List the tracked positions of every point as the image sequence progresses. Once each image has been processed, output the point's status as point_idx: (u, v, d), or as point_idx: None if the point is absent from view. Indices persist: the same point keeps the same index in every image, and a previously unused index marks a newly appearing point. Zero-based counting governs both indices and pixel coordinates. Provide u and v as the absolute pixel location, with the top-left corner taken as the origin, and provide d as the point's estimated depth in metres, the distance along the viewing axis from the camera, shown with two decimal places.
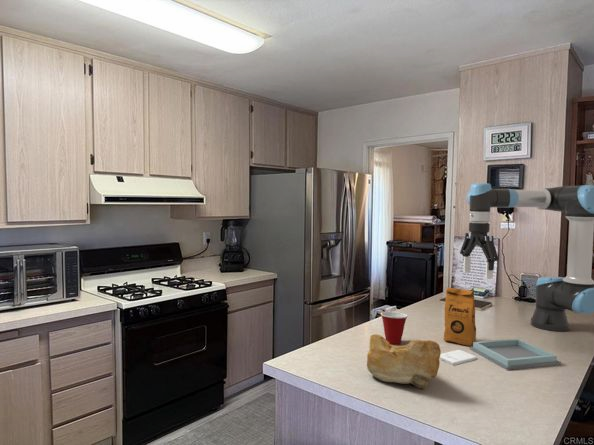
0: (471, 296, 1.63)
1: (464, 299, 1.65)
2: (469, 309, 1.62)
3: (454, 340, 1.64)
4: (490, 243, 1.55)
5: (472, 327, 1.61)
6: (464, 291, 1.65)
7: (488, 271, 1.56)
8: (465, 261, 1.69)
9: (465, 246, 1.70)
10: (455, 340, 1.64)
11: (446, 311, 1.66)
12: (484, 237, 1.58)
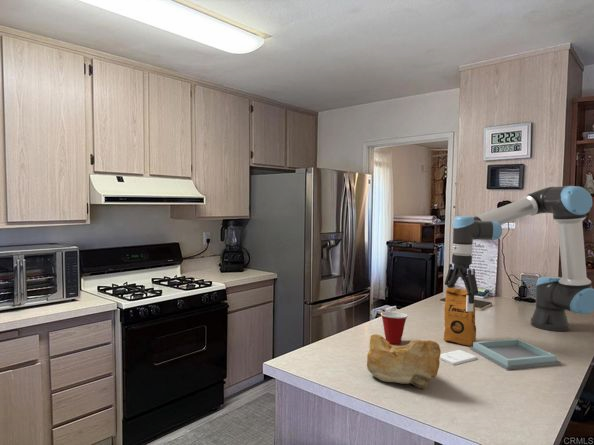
0: None
1: (464, 299, 1.65)
2: None
3: (454, 340, 1.64)
4: (471, 277, 1.59)
5: (472, 327, 1.60)
6: (464, 291, 1.65)
7: (468, 304, 1.60)
8: None
9: (449, 277, 1.73)
10: (455, 340, 1.64)
11: (446, 311, 1.65)
12: (466, 270, 1.61)
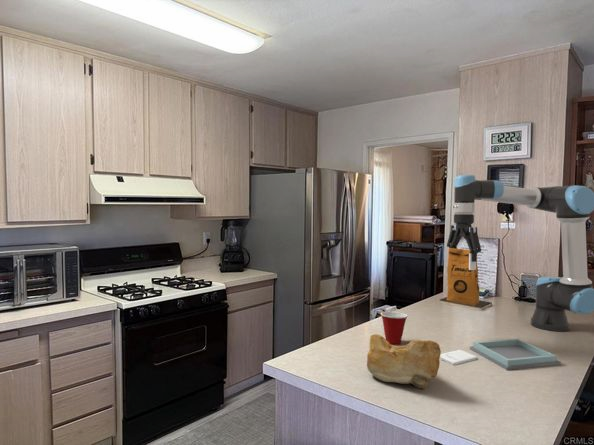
0: None
1: (466, 258, 1.63)
2: None
3: (457, 300, 1.63)
4: (474, 234, 1.57)
5: (475, 285, 1.59)
6: (466, 251, 1.64)
7: (471, 262, 1.59)
8: None
9: (451, 238, 1.71)
10: (458, 300, 1.63)
11: (449, 271, 1.64)
12: (468, 228, 1.60)
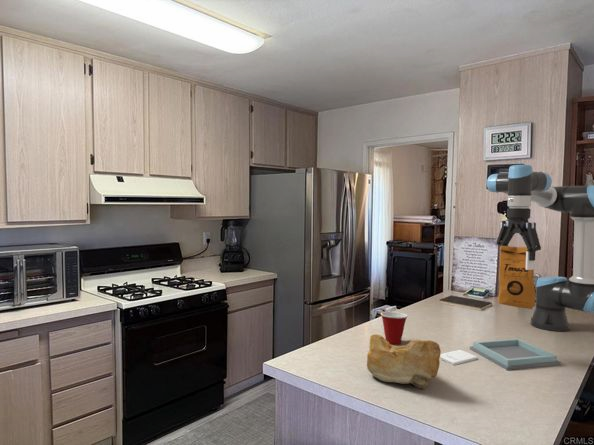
0: None
1: (521, 257, 1.48)
2: None
3: (511, 303, 1.47)
4: (532, 231, 1.42)
5: (532, 287, 1.44)
6: (521, 248, 1.48)
7: (529, 262, 1.43)
8: None
9: (502, 235, 1.56)
10: (512, 303, 1.47)
11: (501, 271, 1.49)
12: (525, 224, 1.45)
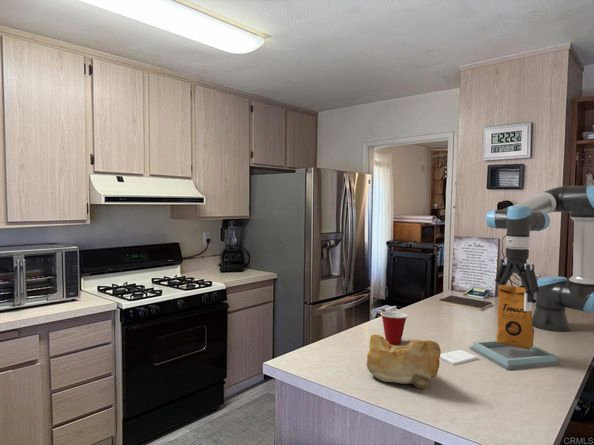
0: None
1: (519, 297, 1.49)
2: None
3: (510, 343, 1.48)
4: (530, 273, 1.43)
5: (530, 328, 1.45)
6: (520, 289, 1.49)
7: (527, 303, 1.44)
8: None
9: (501, 273, 1.57)
10: (511, 343, 1.48)
11: (500, 311, 1.50)
12: (523, 265, 1.46)
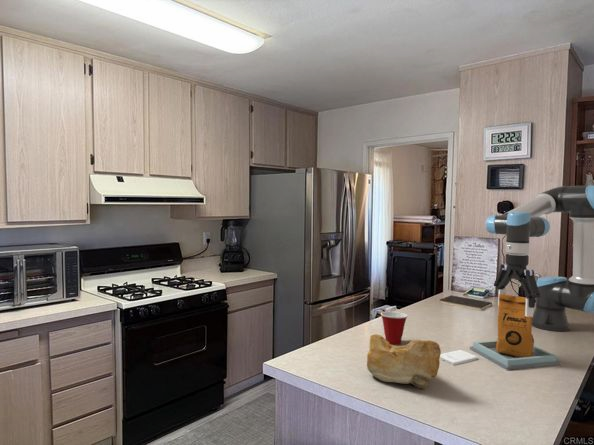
0: None
1: (519, 307, 1.49)
2: (527, 318, 1.46)
3: (509, 352, 1.48)
4: (531, 278, 1.43)
5: (530, 338, 1.45)
6: (520, 298, 1.49)
7: (528, 308, 1.44)
8: None
9: (500, 278, 1.57)
10: (511, 352, 1.48)
11: (500, 320, 1.50)
12: (523, 271, 1.46)
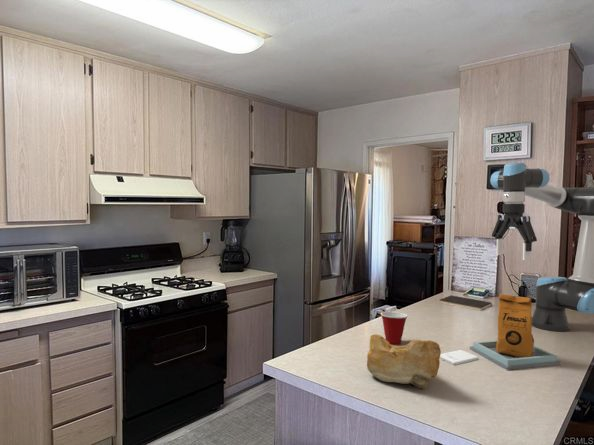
0: (528, 304, 1.48)
1: (520, 307, 1.49)
2: (527, 318, 1.46)
3: (509, 352, 1.48)
4: (527, 223, 1.52)
5: (530, 338, 1.45)
6: (520, 298, 1.50)
7: (525, 252, 1.52)
8: (498, 243, 1.65)
9: (497, 228, 1.66)
10: (511, 352, 1.48)
11: (500, 320, 1.50)
12: (520, 218, 1.54)
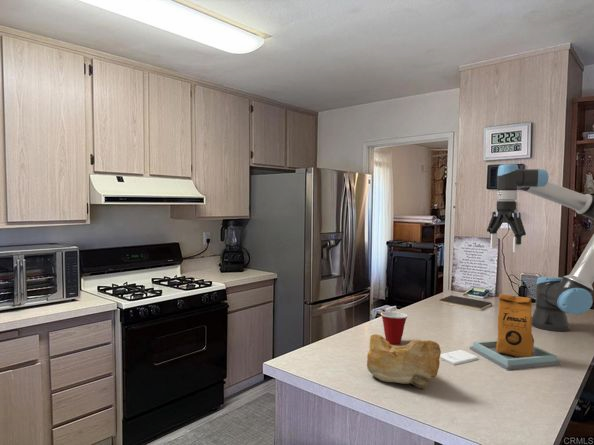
0: (528, 304, 1.48)
1: (520, 307, 1.49)
2: (527, 318, 1.46)
3: (509, 352, 1.48)
4: (518, 219, 1.67)
5: (530, 338, 1.45)
6: (520, 298, 1.50)
7: (516, 245, 1.68)
8: (492, 238, 1.81)
9: (492, 224, 1.82)
10: (511, 352, 1.48)
11: (500, 320, 1.50)
12: (511, 214, 1.70)
